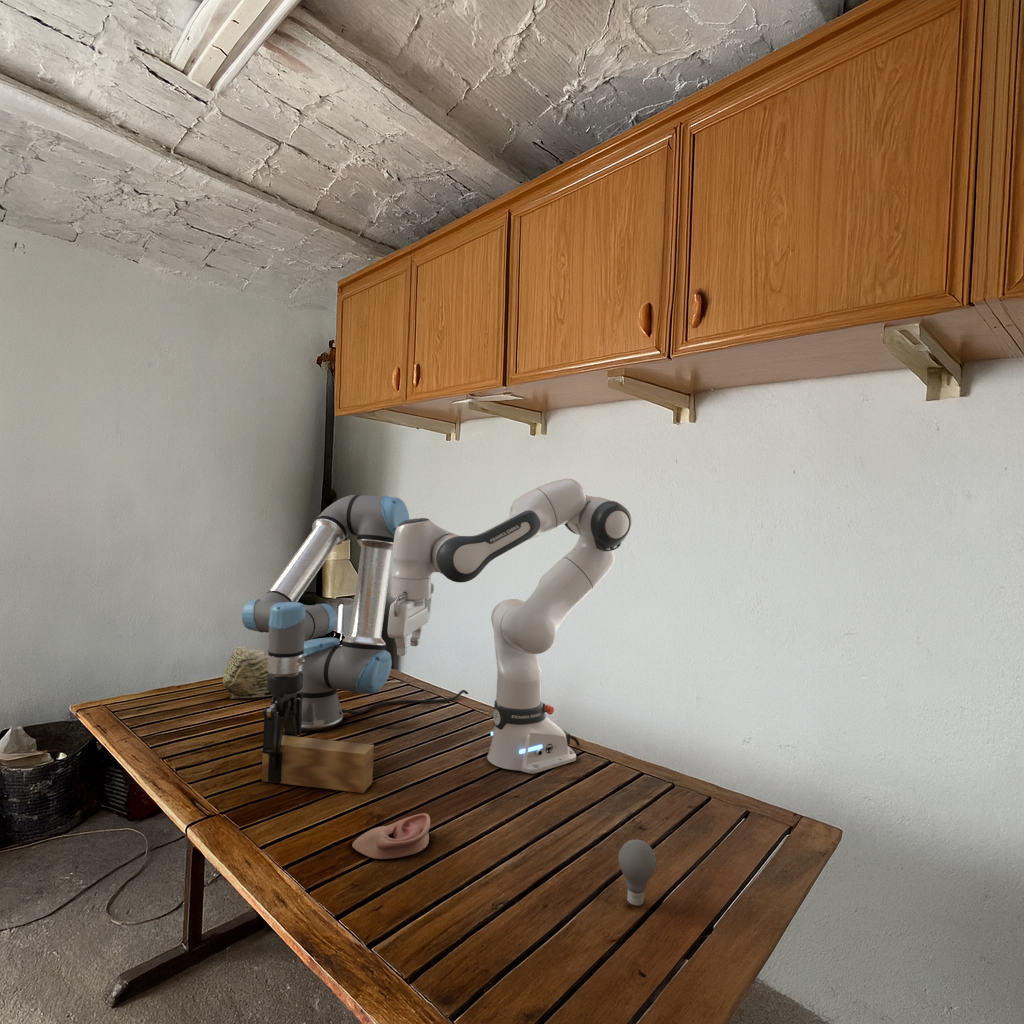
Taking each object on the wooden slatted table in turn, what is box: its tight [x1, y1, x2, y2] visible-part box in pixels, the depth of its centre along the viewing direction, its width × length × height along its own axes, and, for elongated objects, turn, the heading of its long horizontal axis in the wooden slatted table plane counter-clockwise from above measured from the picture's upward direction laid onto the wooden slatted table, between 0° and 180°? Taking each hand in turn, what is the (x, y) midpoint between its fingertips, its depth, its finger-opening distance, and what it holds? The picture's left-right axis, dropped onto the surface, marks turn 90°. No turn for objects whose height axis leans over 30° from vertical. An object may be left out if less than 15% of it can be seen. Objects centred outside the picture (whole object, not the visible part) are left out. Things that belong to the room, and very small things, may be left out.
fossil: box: [222, 646, 273, 699], centre depth 198 cm, size 9×18×15 cm, turn 132°
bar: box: [261, 734, 375, 794], centre depth 141 cm, size 24×5×8 cm, turn 81°
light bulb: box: [618, 838, 657, 906], centre depth 102 cm, size 6×6×10 cm
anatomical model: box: [351, 812, 431, 860], centre depth 117 cm, size 13×4×12 cm
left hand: (281, 775), depth 142 cm, fingers closed on bar, 5 cm apart
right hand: (408, 650), depth 144 cm, fingers open, 8 cm apart
